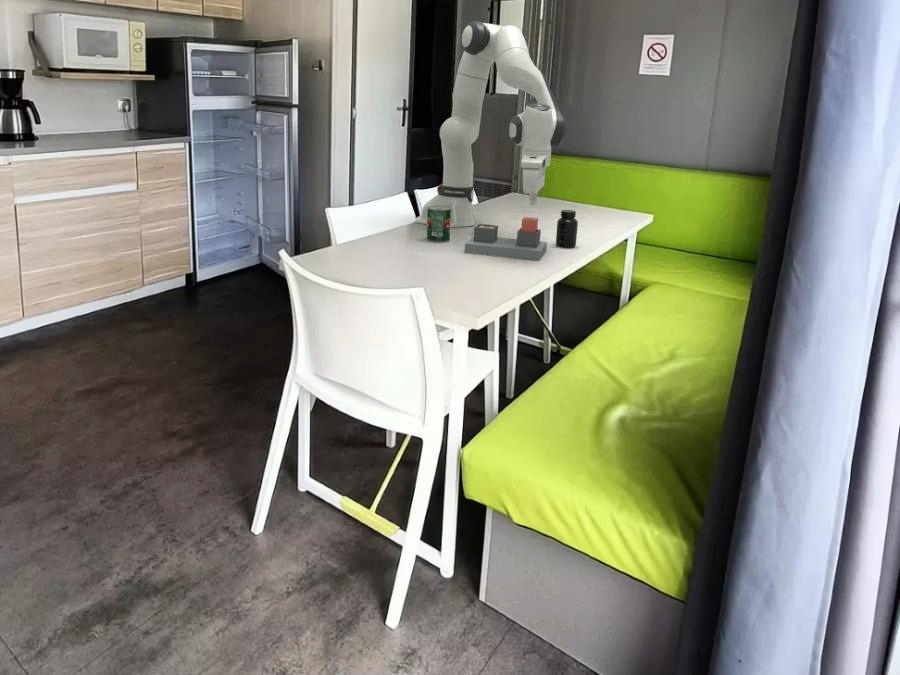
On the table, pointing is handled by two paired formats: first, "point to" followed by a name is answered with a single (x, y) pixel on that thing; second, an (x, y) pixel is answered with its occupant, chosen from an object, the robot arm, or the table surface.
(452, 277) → the table surface
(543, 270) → the table surface
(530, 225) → the red button
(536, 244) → the button panel
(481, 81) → the robot arm
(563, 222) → the supplement bottle
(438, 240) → the canned tomato
